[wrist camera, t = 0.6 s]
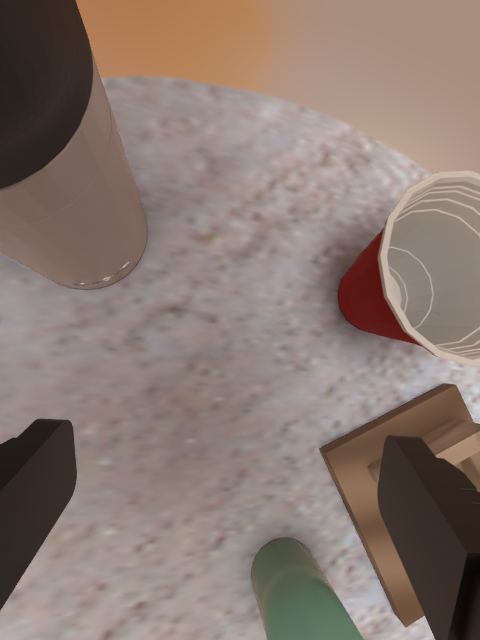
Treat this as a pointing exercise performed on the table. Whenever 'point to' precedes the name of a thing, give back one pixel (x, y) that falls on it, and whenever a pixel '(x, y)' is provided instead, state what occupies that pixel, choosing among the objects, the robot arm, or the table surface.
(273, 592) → the green bottle
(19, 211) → the robot arm
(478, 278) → the plastic cup
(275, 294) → the table surface
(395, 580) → the bottle cradle
